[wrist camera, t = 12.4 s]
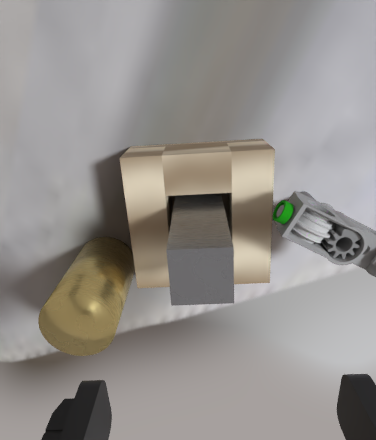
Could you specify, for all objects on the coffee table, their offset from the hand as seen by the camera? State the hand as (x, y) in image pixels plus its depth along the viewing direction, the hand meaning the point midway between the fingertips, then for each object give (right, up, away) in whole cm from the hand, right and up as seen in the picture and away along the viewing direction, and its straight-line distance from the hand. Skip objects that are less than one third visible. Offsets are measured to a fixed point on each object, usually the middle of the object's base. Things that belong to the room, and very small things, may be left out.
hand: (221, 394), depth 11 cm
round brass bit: (-10, +1, +24) cm, 26 cm away
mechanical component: (+10, +8, +21) cm, 25 cm away
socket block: (0, +7, +21) cm, 23 cm away
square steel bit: (0, +7, +20) cm, 21 cm away
